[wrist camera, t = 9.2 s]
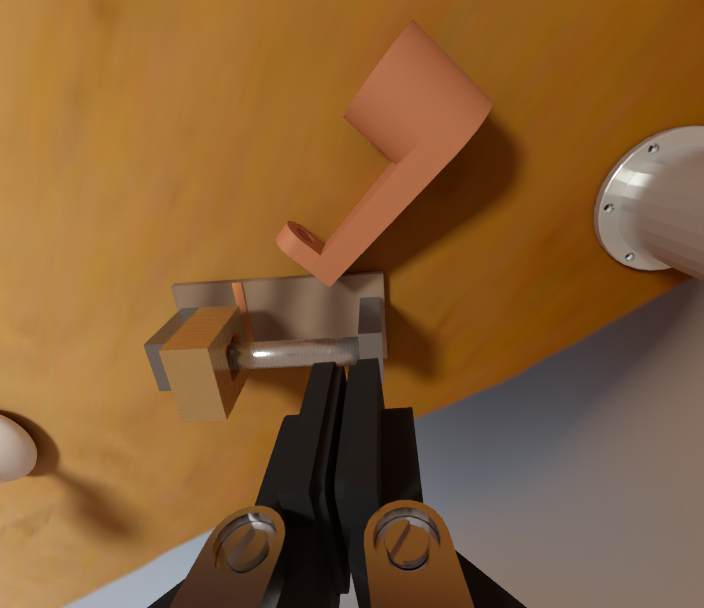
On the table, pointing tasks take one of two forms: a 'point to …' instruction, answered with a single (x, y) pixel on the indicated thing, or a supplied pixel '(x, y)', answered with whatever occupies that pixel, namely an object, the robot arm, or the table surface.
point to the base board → (291, 304)
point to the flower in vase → (15, 451)
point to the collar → (205, 364)
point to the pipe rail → (284, 346)
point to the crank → (397, 145)
